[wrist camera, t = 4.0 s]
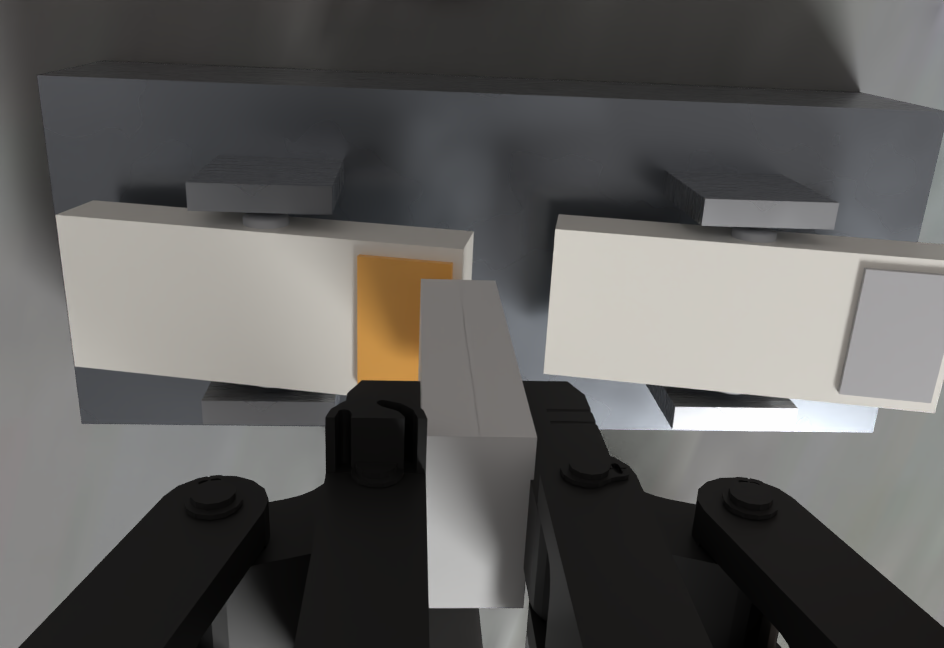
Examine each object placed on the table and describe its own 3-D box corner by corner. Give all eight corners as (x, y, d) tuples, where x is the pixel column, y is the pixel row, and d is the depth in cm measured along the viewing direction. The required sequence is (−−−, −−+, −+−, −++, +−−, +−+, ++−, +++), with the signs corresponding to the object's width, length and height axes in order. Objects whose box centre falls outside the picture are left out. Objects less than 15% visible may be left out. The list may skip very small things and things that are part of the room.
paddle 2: (547, 356, 22) (542, 382, 21) (559, 208, 21) (555, 224, 19) (912, 391, 21) (935, 422, 20) (950, 238, 20) (978, 258, 18)
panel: (132, 357, 27) (32, 486, 20) (102, 61, 24) (-30, 89, 17) (806, 368, 29) (935, 492, 22) (861, 92, 26) (1034, 131, 19)
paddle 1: (110, 348, 22) (72, 374, 20) (92, 193, 20) (50, 209, 19) (466, 385, 20) (455, 416, 19) (474, 224, 19) (462, 244, 18)
